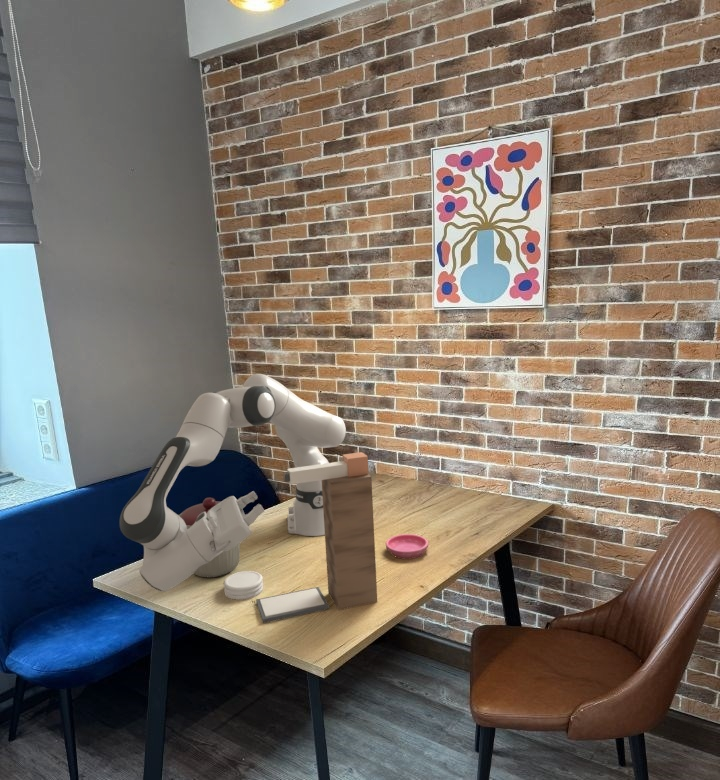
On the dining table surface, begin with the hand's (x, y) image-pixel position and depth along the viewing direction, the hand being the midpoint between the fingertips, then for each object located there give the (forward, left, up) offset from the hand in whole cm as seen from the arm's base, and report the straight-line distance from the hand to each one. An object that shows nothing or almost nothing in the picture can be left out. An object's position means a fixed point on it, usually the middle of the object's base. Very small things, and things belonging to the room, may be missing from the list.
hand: (258, 500), depth 138 cm
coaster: (-15, -4, -29) cm, 33 cm away
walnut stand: (0, +21, -29) cm, 36 cm away
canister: (-31, -10, -29) cm, 44 cm away
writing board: (-2, +6, -29) cm, 30 cm away
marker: (0, +16, +3) cm, 17 cm away
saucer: (-19, +44, -29) cm, 56 cm away
